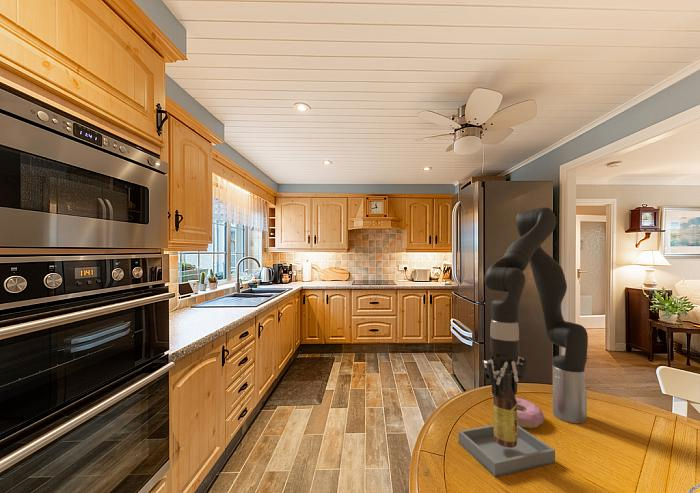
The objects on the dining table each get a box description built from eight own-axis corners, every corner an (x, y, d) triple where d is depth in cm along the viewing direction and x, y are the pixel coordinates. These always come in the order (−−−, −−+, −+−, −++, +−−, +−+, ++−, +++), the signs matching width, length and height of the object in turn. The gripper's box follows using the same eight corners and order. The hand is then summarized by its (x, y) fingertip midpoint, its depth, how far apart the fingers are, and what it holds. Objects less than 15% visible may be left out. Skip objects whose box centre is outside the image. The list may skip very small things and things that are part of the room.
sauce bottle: (520, 450, 85) (520, 378, 86) (496, 447, 86) (496, 376, 87) (513, 436, 92) (513, 369, 92) (490, 434, 93) (490, 367, 93)
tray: (512, 432, 99) (512, 421, 99) (555, 463, 84) (555, 450, 84) (458, 442, 93) (458, 430, 93) (494, 477, 79) (494, 463, 79)
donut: (484, 410, 113) (484, 396, 113) (519, 405, 117) (519, 392, 117) (517, 434, 98) (517, 418, 98) (555, 428, 102) (555, 413, 102)
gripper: (514, 331, 95) (514, 387, 95) (474, 334, 91) (474, 392, 91) (535, 337, 88) (535, 398, 88) (493, 341, 84) (493, 404, 84)
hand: (504, 394), depth 89 cm, fingers closed on sauce bottle, 5 cm apart
